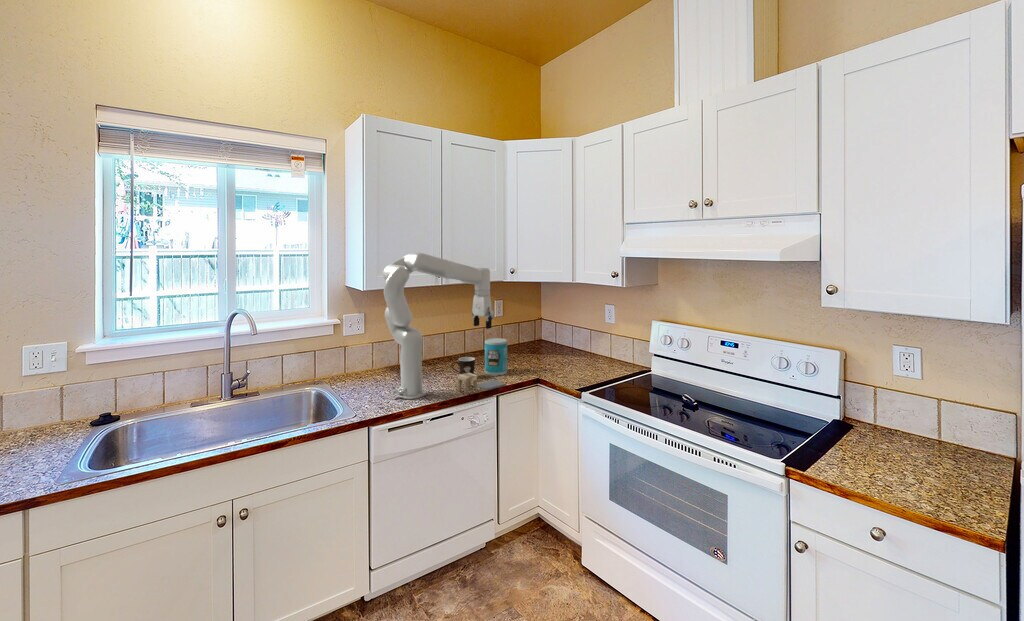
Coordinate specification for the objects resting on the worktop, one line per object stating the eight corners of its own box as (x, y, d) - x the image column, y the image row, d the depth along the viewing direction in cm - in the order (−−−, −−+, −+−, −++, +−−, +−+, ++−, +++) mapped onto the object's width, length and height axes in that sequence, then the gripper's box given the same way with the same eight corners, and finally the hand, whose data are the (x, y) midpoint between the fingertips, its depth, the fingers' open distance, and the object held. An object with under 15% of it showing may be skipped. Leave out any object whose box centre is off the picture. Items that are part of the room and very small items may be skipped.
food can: (491, 377, 234) (491, 343, 232) (481, 371, 244) (480, 339, 242) (511, 373, 240) (511, 341, 238) (500, 368, 250) (500, 337, 248)
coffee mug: (477, 376, 236) (477, 357, 235) (471, 380, 228) (471, 361, 227) (457, 374, 239) (456, 356, 238) (450, 379, 231) (450, 360, 230)
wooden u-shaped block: (465, 394, 206) (465, 378, 205) (458, 391, 211) (457, 375, 210) (477, 391, 211) (476, 375, 209) (469, 388, 215) (469, 372, 214)
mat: (486, 390, 213) (486, 388, 213) (475, 386, 219) (475, 384, 219) (506, 385, 220) (506, 383, 220) (494, 381, 227) (494, 379, 227)
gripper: (465, 292, 225) (466, 325, 228) (487, 294, 213) (487, 330, 215) (477, 291, 230) (477, 324, 233) (499, 293, 218) (499, 328, 220)
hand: (482, 327), depth 224 cm, fingers open, 9 cm apart
